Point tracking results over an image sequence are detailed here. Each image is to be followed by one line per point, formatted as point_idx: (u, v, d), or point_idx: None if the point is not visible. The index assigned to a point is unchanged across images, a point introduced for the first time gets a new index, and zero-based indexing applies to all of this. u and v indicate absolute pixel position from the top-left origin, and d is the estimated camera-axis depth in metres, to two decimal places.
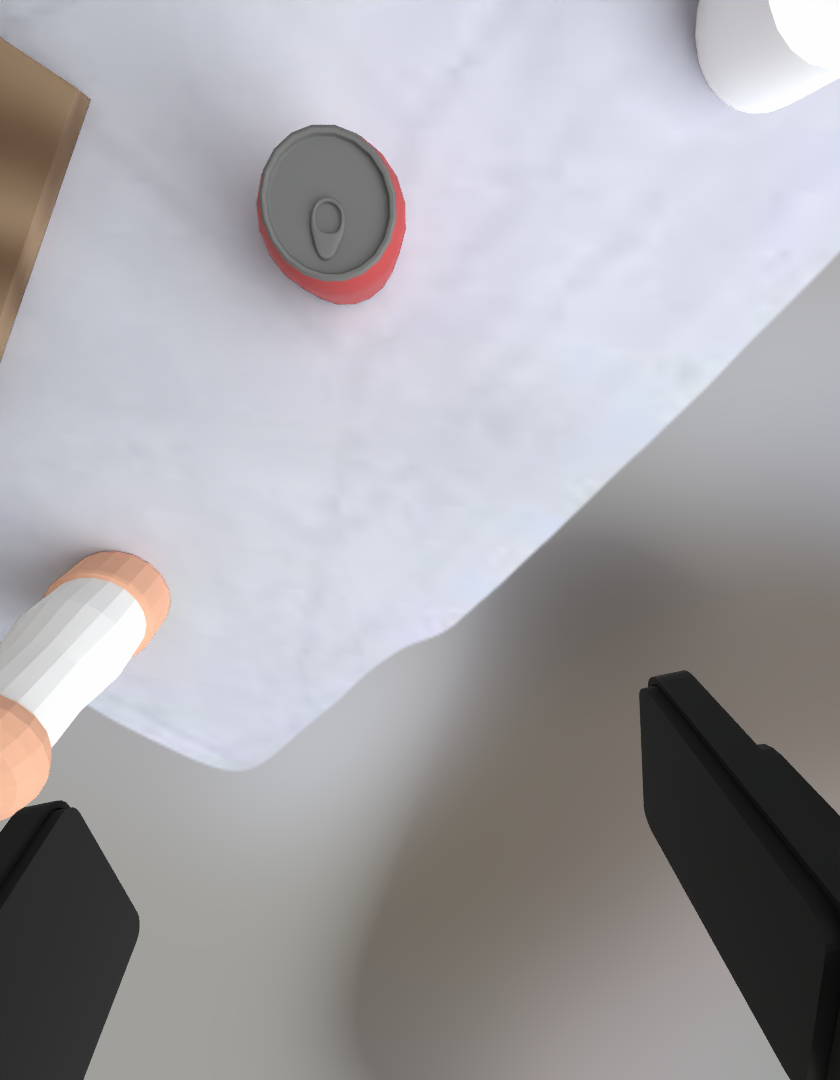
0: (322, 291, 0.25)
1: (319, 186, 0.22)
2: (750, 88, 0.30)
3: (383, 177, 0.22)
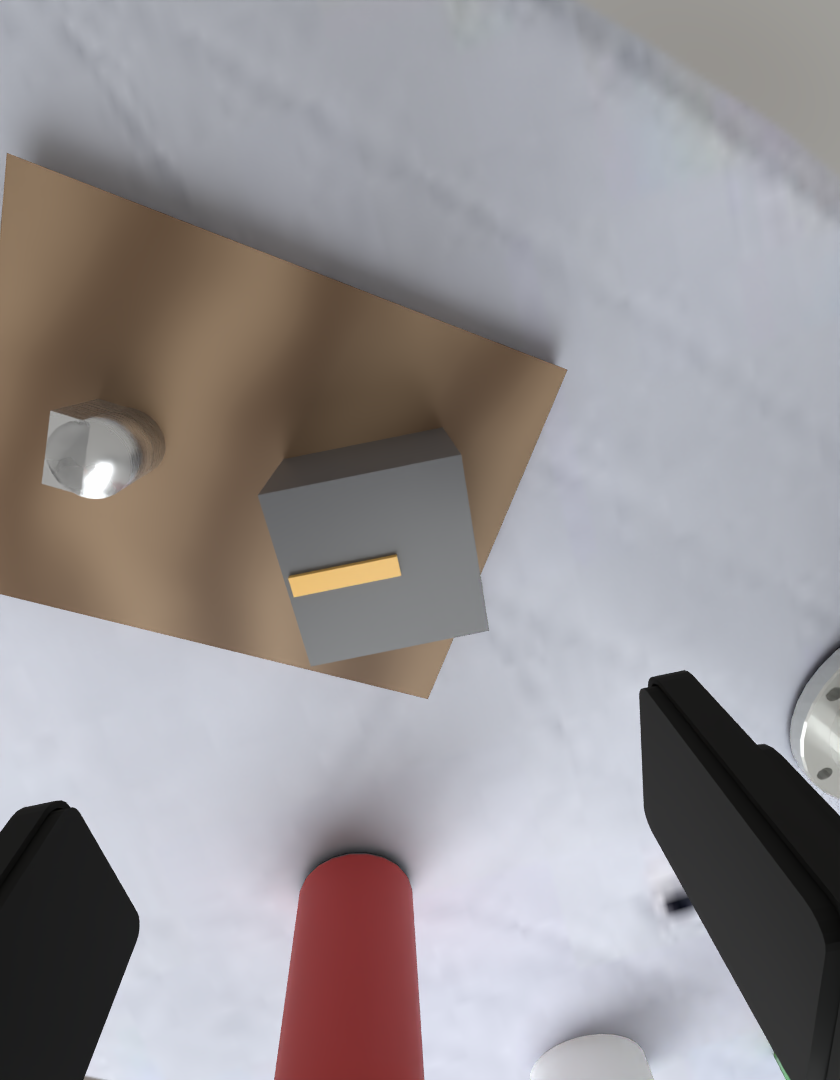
0: None
1: None
2: None
3: None
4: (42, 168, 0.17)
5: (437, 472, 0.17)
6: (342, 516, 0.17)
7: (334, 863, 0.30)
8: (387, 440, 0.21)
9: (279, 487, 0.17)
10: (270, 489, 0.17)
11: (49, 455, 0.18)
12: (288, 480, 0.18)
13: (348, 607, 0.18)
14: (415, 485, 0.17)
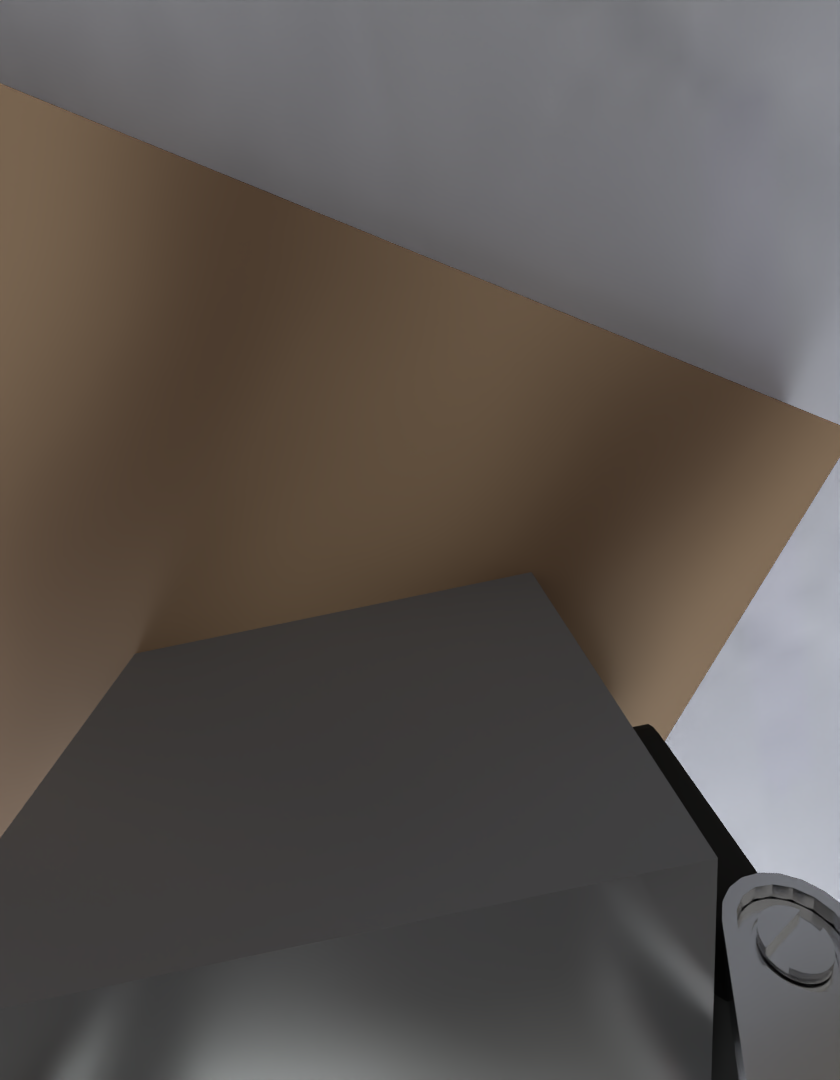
0: None
1: None
2: None
3: None
4: None
5: (611, 918, 0.04)
6: (226, 1064, 0.04)
7: None
8: (395, 613, 0.08)
9: None
10: None
11: None
12: (50, 866, 0.05)
13: None
14: (518, 960, 0.04)
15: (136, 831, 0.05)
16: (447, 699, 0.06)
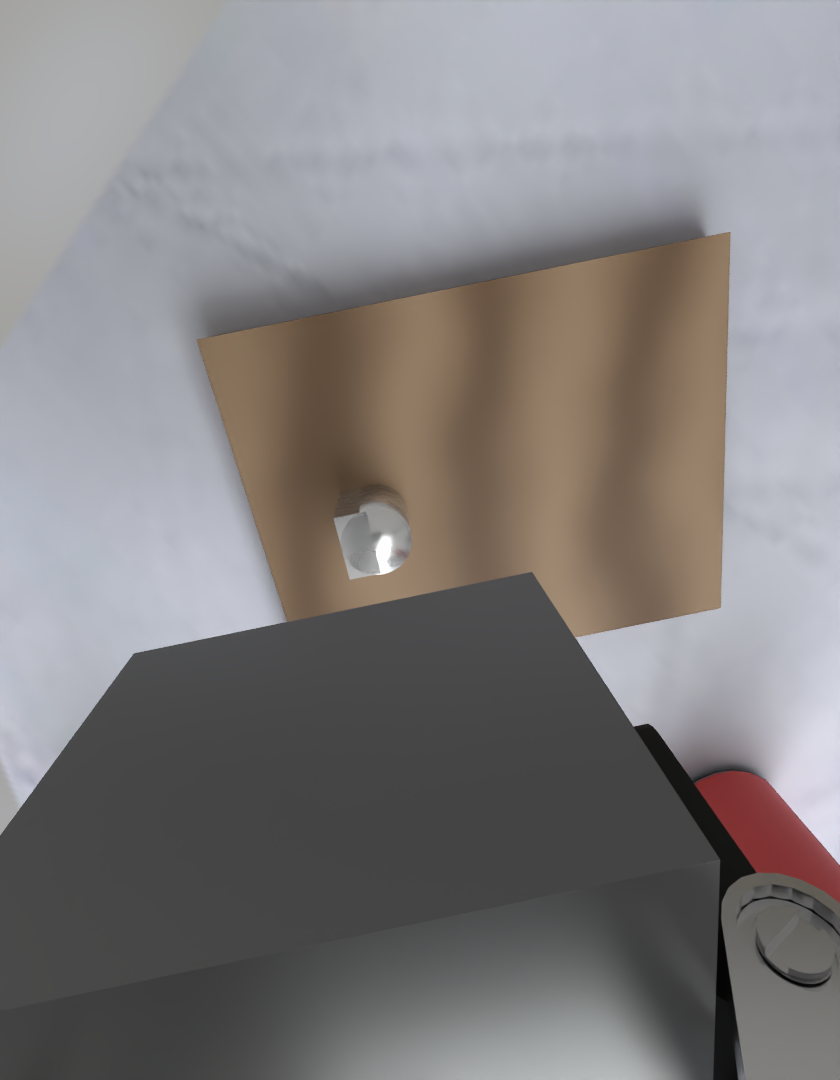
0: None
1: None
2: None
3: None
4: (225, 335, 0.20)
5: (612, 920, 0.04)
6: (226, 1065, 0.04)
7: None
8: (395, 612, 0.08)
9: None
10: None
11: (346, 554, 0.20)
12: (48, 867, 0.05)
13: None
14: (519, 962, 0.04)
15: (134, 832, 0.05)
16: (447, 699, 0.06)
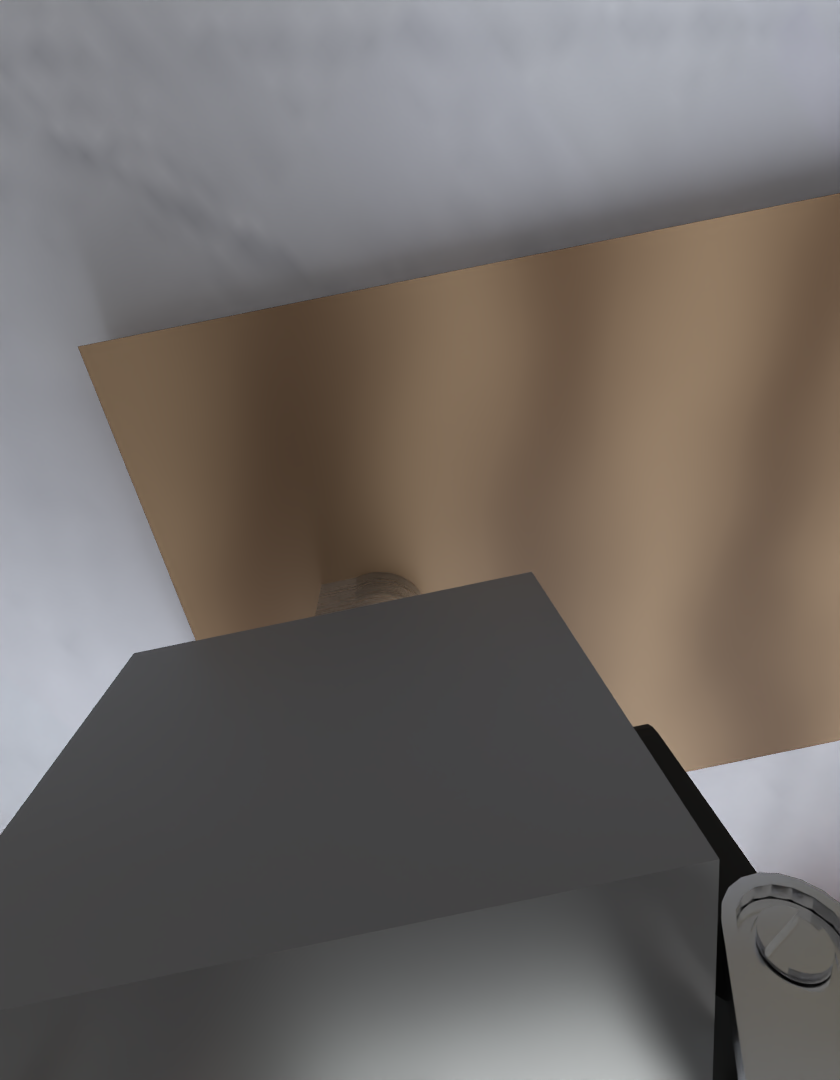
0: None
1: None
2: None
3: None
4: (126, 339, 0.12)
5: (612, 919, 0.04)
6: (225, 1065, 0.04)
7: None
8: (395, 612, 0.08)
9: None
10: None
11: None
12: (48, 867, 0.05)
13: None
14: (518, 962, 0.04)
15: (134, 831, 0.05)
16: (447, 699, 0.06)
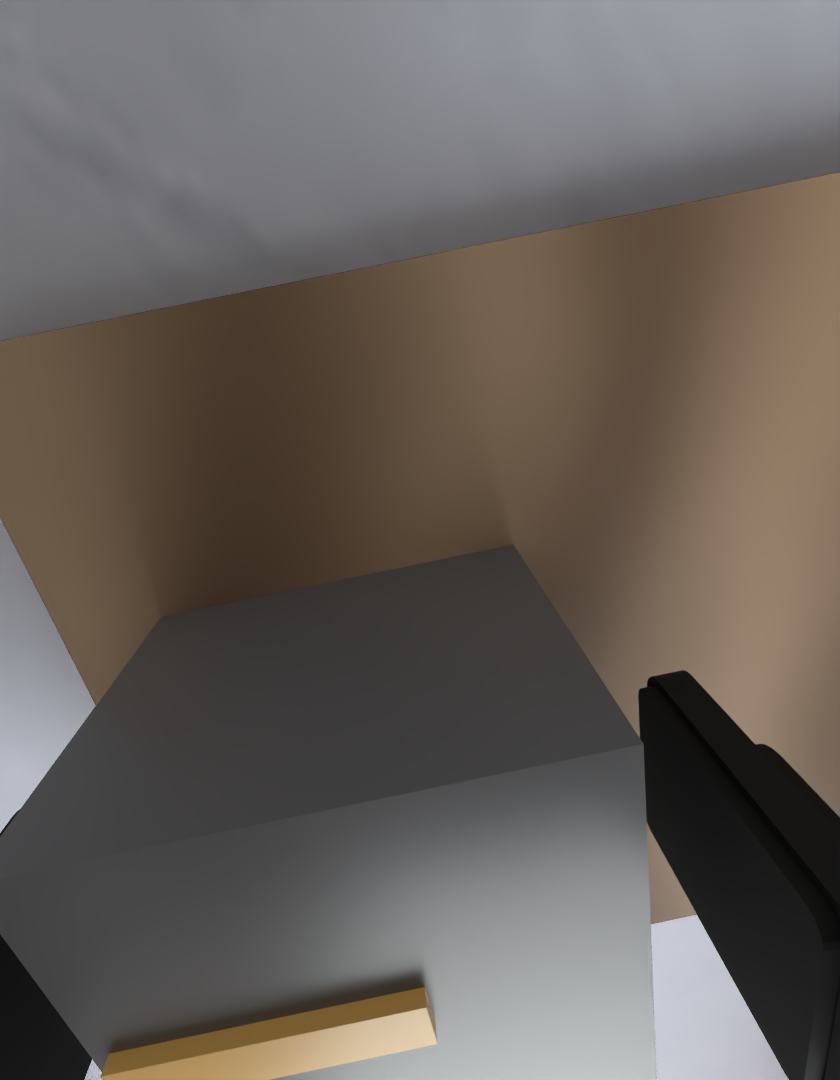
0: None
1: None
2: None
3: None
4: None
5: (561, 794, 0.05)
6: (255, 918, 0.05)
7: None
8: (392, 579, 0.09)
9: (58, 827, 0.05)
10: (30, 833, 0.05)
11: None
12: (107, 771, 0.06)
13: None
14: (488, 830, 0.05)
15: (176, 744, 0.06)
16: (436, 643, 0.07)
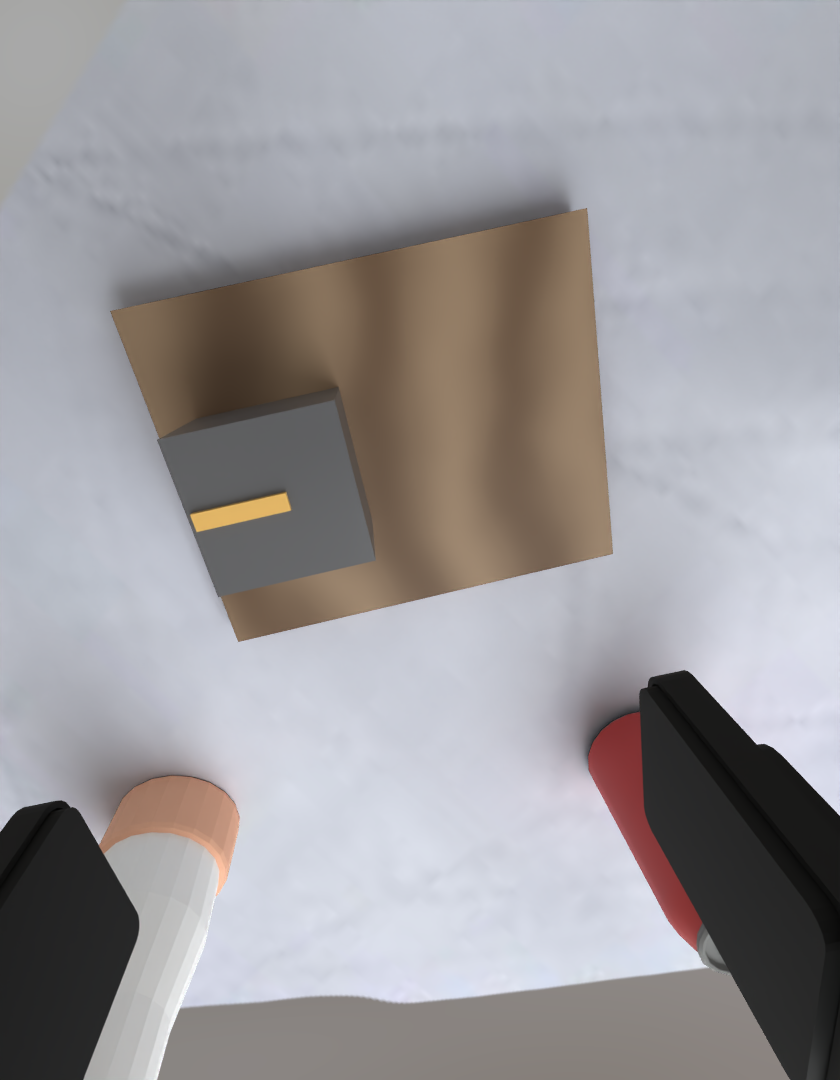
0: (677, 931, 0.26)
1: None
2: None
3: None
4: (136, 306, 0.22)
5: (315, 416, 0.19)
6: (234, 458, 0.20)
7: (605, 733, 0.34)
8: (288, 399, 0.24)
9: (178, 433, 0.20)
10: (170, 435, 0.20)
11: None
12: (188, 429, 0.20)
13: (247, 541, 0.21)
14: (296, 428, 0.20)
15: (209, 424, 0.20)
16: (294, 402, 0.21)
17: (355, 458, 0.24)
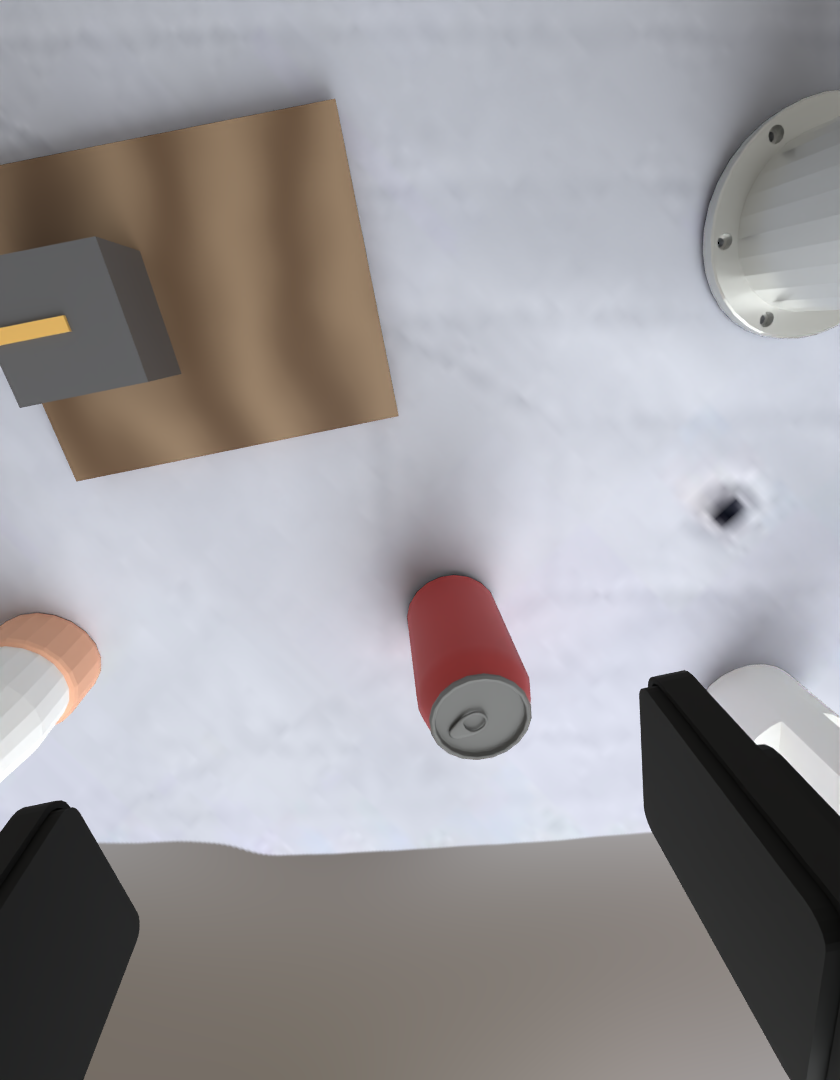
0: (428, 726, 0.31)
1: (486, 704, 0.29)
2: None
3: (521, 730, 0.30)
4: None
5: (81, 250, 0.24)
6: (18, 283, 0.25)
7: (418, 592, 0.38)
8: None
9: None
10: None
11: None
12: None
13: (38, 358, 0.26)
14: (67, 259, 0.24)
15: None
16: None
17: (153, 311, 0.29)
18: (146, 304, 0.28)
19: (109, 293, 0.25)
